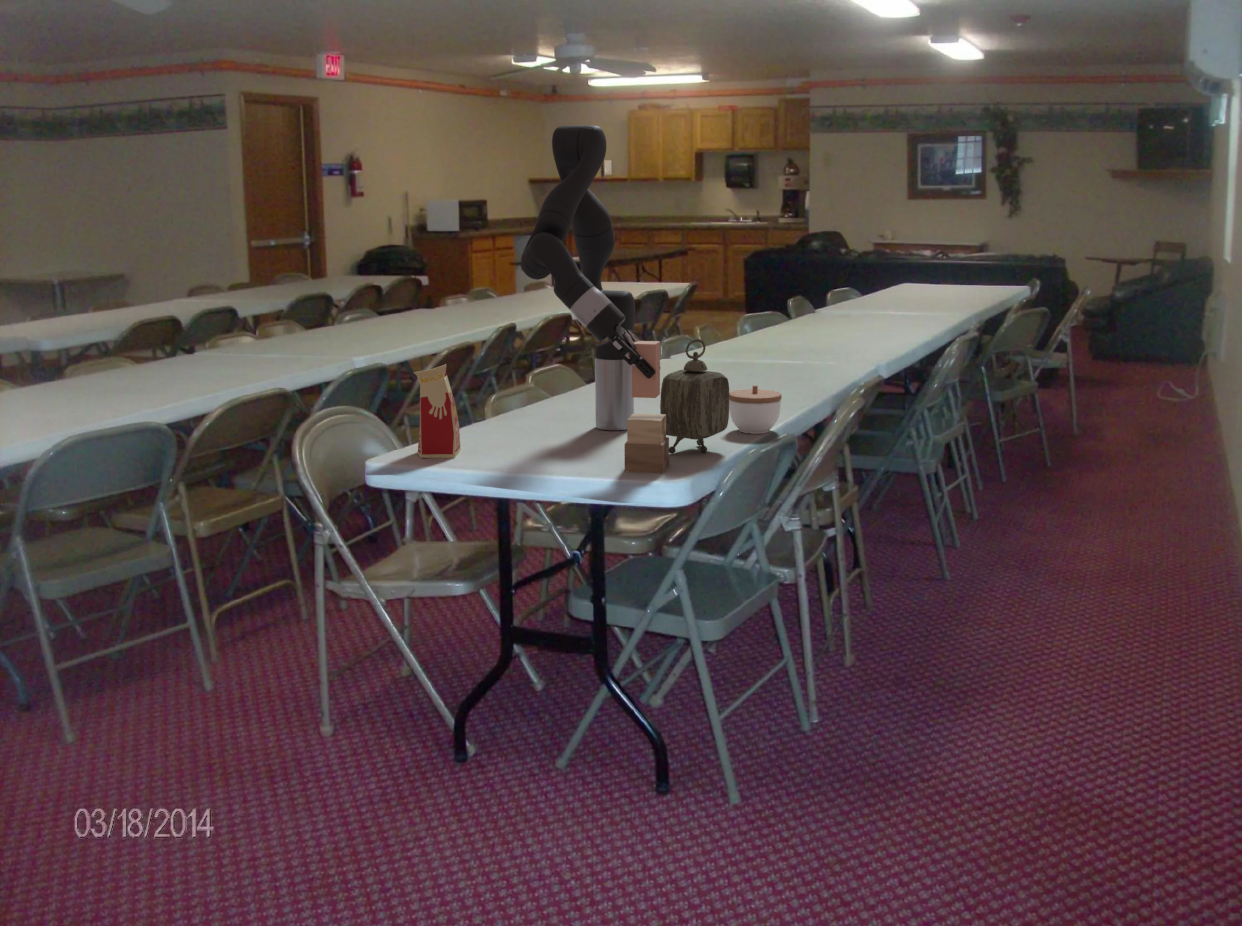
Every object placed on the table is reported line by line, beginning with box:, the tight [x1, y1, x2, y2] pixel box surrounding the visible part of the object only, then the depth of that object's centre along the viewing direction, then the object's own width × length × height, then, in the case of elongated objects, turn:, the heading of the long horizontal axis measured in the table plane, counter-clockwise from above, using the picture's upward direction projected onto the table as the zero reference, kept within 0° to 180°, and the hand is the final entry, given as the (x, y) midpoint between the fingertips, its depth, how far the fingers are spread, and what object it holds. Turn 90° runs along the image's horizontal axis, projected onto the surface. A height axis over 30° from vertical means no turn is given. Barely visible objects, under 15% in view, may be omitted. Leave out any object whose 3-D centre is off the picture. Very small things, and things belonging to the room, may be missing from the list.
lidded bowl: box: [729, 384, 782, 435], centre depth 288 cm, size 13×13×11 cm
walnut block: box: [624, 436, 670, 474], centre depth 251 cm, size 8×8×6 cm
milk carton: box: [413, 363, 462, 459], centre depth 265 cm, size 9×9×20 cm
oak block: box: [626, 413, 667, 445], centre depth 250 cm, size 7×7×5 cm
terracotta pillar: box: [632, 340, 661, 399], centre depth 247 cm, size 5×5×11 cm
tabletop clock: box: [659, 338, 730, 454], centre depth 264 cm, size 14×9×25 cm, turn 141°
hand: (654, 373), depth 247 cm, fingers closed on terracotta pillar, 5 cm apart
